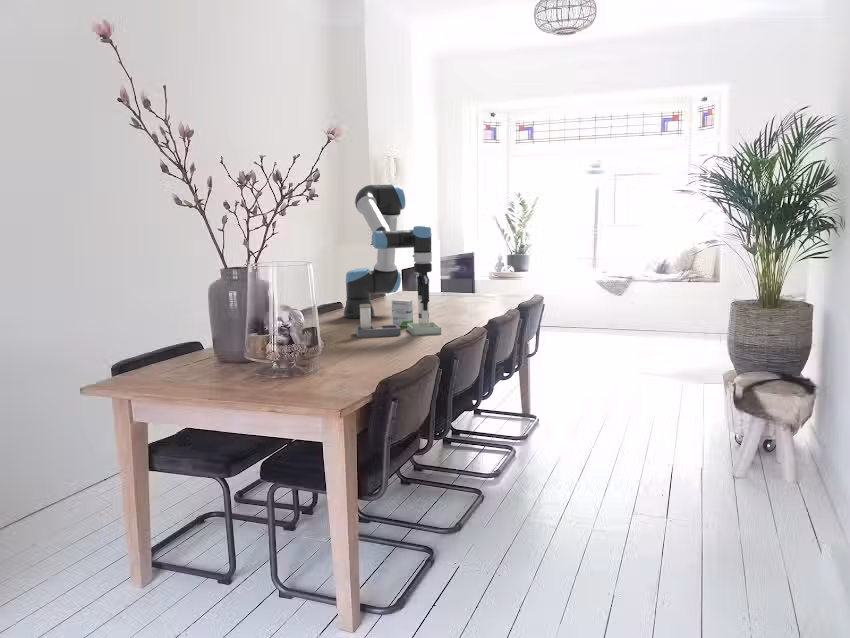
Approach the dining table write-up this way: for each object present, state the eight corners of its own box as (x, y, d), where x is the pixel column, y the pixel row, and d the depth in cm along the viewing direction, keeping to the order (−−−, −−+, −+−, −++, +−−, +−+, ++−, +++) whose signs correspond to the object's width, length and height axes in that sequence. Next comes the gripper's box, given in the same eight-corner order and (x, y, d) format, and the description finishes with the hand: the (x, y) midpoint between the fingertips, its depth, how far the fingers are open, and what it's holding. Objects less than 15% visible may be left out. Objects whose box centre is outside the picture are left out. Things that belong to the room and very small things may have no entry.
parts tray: (407, 329, 309) (407, 323, 308) (434, 328, 311) (433, 322, 311) (413, 335, 295) (413, 328, 295) (441, 333, 298) (441, 327, 297)
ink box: (413, 325, 319) (413, 299, 317) (408, 327, 315) (407, 301, 313) (397, 324, 324) (397, 298, 322) (391, 326, 319) (391, 300, 317)
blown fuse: (417, 325, 304) (416, 295, 302) (428, 324, 305) (427, 294, 303) (419, 326, 300) (419, 296, 298) (430, 326, 301) (429, 295, 299)
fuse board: (355, 333, 302) (355, 326, 302) (396, 331, 306) (396, 323, 305) (357, 337, 293) (357, 330, 292) (400, 335, 296) (400, 327, 296)
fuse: (359, 334, 300) (359, 304, 298) (370, 333, 301) (369, 303, 299) (361, 336, 295) (360, 305, 293) (372, 335, 296) (371, 305, 294)
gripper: (410, 261, 306) (411, 314, 310) (418, 264, 289) (419, 320, 293) (427, 260, 308) (428, 313, 311) (435, 263, 291) (436, 319, 294)
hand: (423, 317), depth 302 cm, fingers closed on blown fuse, 4 cm apart
